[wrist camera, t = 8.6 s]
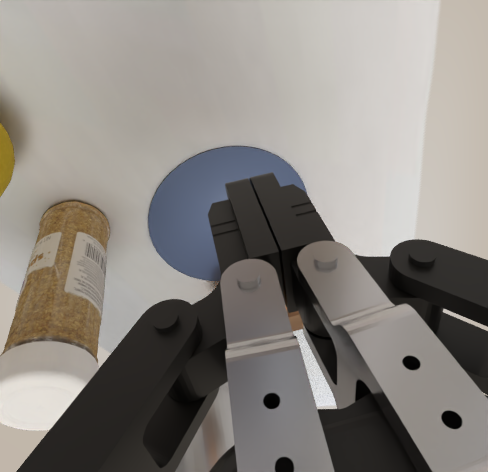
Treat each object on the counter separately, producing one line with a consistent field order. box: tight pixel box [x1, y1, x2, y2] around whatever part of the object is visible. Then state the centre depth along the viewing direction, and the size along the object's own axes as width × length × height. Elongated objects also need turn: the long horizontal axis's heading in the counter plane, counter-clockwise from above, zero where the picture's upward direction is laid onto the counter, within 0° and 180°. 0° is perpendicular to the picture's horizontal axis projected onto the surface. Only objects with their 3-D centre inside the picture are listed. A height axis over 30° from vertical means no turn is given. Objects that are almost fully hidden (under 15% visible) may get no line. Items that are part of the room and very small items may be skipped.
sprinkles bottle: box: [0, 201, 110, 431], centre depth 23 cm, size 5×5×14 cm
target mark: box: [148, 146, 307, 281], centre depth 30 cm, size 12×12×1 cm
